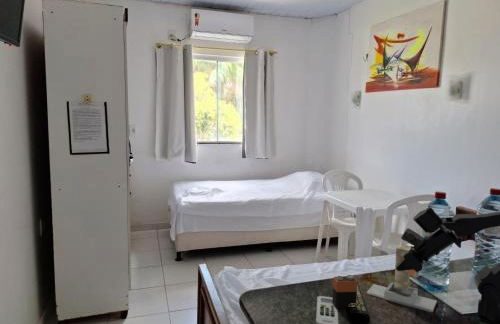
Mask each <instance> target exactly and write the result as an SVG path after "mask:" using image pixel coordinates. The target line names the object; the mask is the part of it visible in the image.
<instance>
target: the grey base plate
mask: <svg viewBox="0 0 500 324" xmlns="http://www.w3.org/2000/svg"><path fill="white" fill-rule="evenodd" d="M394 284H395V282H392V281H391V282H390V283H389V284H388V286H387V287H386V286H383V285H380V284H379V285H378V284H375V283H373V284H372V285H371V287H370V288H369V289H368V290H367V291H366V295H369V296H373V297H376V298H380V299H383V300H385V301H388V302H391V303H396V304H399V305H402V306H406V307H410V308H415V309H418V310H422V311H425V312H429V313H433V312H434V310H435V308H436V306H437V300H436V299H432V298H428V297H424V296H420V295H418V293H419V292H418V291H419V288H416V287H411V286H409V288H408V290H407V291H406V290H402V289H398V288H394Z"/></svg>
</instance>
